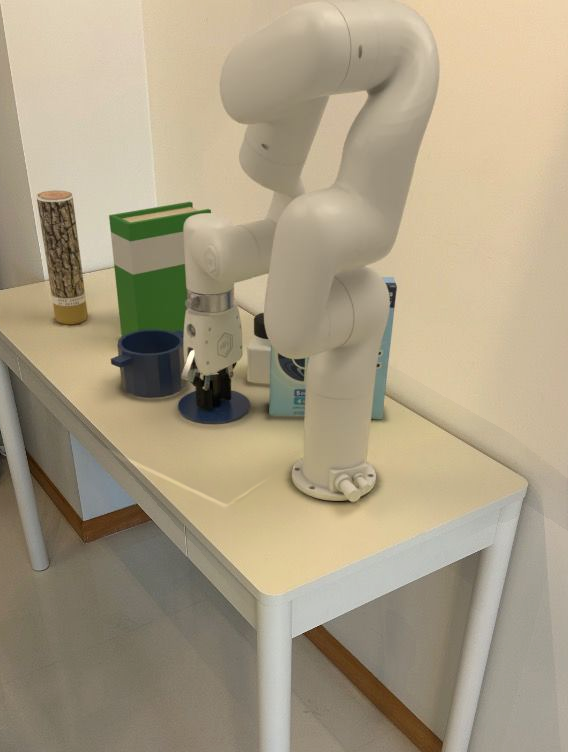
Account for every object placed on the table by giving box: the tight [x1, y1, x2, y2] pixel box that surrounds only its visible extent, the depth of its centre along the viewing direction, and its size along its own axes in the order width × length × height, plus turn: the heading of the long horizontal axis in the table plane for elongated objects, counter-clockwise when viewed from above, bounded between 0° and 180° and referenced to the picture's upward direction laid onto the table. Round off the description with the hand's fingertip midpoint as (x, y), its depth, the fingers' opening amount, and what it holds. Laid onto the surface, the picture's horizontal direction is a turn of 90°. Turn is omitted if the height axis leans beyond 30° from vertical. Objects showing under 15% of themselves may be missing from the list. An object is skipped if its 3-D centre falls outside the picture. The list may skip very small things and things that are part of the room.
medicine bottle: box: [246, 311, 271, 385], centre depth 145 cm, size 7×7×12 cm
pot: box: [110, 329, 187, 399], centre depth 143 cm, size 11×17×8 cm
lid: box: [177, 374, 251, 425], centre depth 136 cm, size 12×12×6 cm
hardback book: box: [108, 201, 212, 337], centre depth 157 cm, size 18×7×24 cm, turn 127°
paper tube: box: [36, 190, 89, 325], centre depth 163 cm, size 7×7×25 cm
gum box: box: [268, 276, 398, 420], centre depth 132 cm, size 20×5×23 cm, turn 89°
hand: (214, 402), depth 137 cm, fingers open, 4 cm apart
